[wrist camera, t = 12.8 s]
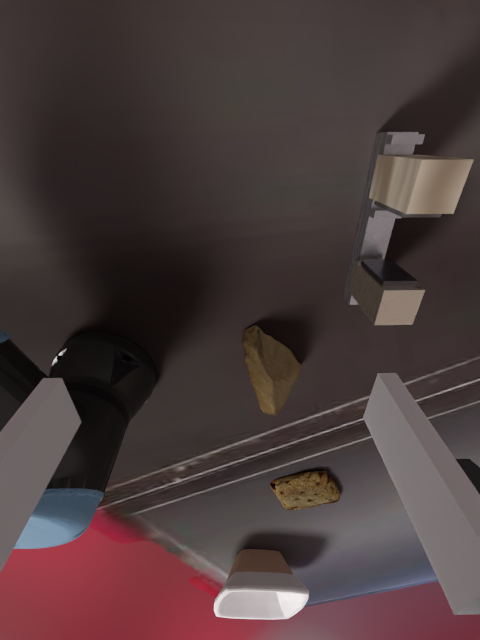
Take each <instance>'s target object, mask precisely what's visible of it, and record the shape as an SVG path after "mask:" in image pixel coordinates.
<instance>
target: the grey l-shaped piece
mask: <svg viewBox="0 0 480 640" xmlns="http://www.w3.org/2000/svg"><path fill="white" fill-rule="evenodd" d="M418 133H419V132H379V133H377V136H376V141H375V145H374V150H373V155H372V160H371V165H370V170H369V174H368V179H367V184H366V189H365V194H364V198H363V203H362V208H361V213H360V218H359V223H358V227H357V232H356V237H355V242H354V247H353V251H352V256H351V261H350V266H349V271H348V276H347V280H346V285H345V290H344V295H343V296H344V298H345V299H346V300H347V302H348V303H349V305H356V304H359V306H360V307H361V308H362V310H363V311H364V312H365V314H366V315H367V316H368V318H369V319H370V320H371V322H372V323H373V324H374V325H412V324H413V321H414V319H415V316H416V313H417V311H418V308H419V305H420V303H421V300H422V297H423V294H424V292H425V290H424V289H423V288H422V287H421V286H419V285H418V284H417V283H418V280H416V279H415V278H414V277H412V276H411V275H410V274H408V273H407V272H406V271H405V270H403V269H402V268H401V267H399V266H398V265H397V264H396V263H394V262H393V261H392V260H384V259H385V255H386V251H387V248H388V244H389V240H390V236H391V233H392V229H393V225H394V222H395V218H402V217H400V216H398V215H396V214H394V213H391V212H389V211H387V210H385V209H383V208H381V207H379V206H377V205H374V203H375V200H373V199H371V198H369V194H370V189H371V185H372V180H373V175H374V171H375V166H376V162H377V157H378V155H413V152H414V148H415V144H423V140H424V136H425V134H418Z"/></svg>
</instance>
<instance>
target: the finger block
mask: <svg viewBox="0 0 480 640" xmlns="http://www.w3.org/2000/svg"><path fill="white" fill-rule="evenodd" d="M473 160H474V159H462V158H451V157H439V156H428V155H378V157H377V162H376V166H375V171H374V175H373V180H372V185H371V189H370V194H369V198H371V199H373V200H375V203H374V205H377V206H379V207H381V208H383V209H385V210H387V211H389V212H391V213H394V214H396V215H398V216H400V217H441V214H454V211H455V208H456V205H457V203H458V200H459V197H460V195H461V192H462V189H463V187H464V184H465V181H466V179H467V176H468V173H469V171H470V168H471V165H472V163H473Z"/></svg>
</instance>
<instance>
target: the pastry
mask: <svg viewBox="0 0 480 640" xmlns="http://www.w3.org/2000/svg"><path fill="white" fill-rule="evenodd" d="M327 475H328V474H327V472H326V471H315V472H307V473H299V474H296V475H292V476H286V477H283V478H278V479H276V480H273V481H272V484H271V483H270V486H271V489H272V490H273V492H274V493H275V494H276V496H277V498H278V499H279V500H280V502H281V503H282V505H283V507H284V508H285V509H287V510H298V509H303V508H310V507H314V506H318V505H322V503H323V504H331V503H335V502H337V501H339V499H340V492H339V490H338V487H337V484H336V482H335V481H334V480H333V479H332V478H331V477H330V476H327Z"/></svg>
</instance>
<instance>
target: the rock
mask: <svg viewBox="0 0 480 640" xmlns="http://www.w3.org/2000/svg"><path fill="white" fill-rule="evenodd" d="M242 344H243V348H244V353H245V361H246V364H247V367H248V372H249V376H250V380H251V383H252V385H253V386H254V390H255V393H256V396H257V399H258V402H259V405H260V407H261V409H262V411H263V412H264V413H266V414H271V415H277V414H278V412H279V410H280V409H281V408H282V407H283V405H284V403H285V402H286V401H287V399H288V397H289V394H290V393H291V389H292V388H293V386H294V385H295V384H296V381H297V379H298V375H299V372H300V371H299V369H300V366H301V364H300V363H298V362H297V360H296V358H295V357H294V355H293V353H292V352H291V350H290V349H288V348H287V347H286V346H285V345H284V344H281V343H280V342H279V341H276V340H275V339H273V337H271V336H269V335H266V334H264V333H263V331H262V330H261V329H260V328H259V327H258V326H256V325H254V326H252V327H250V328H248V329H246V330H245V331H244V332H243V341H242Z"/></svg>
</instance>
